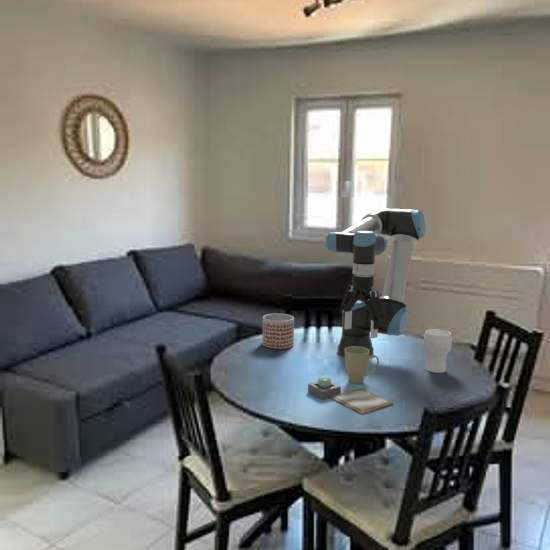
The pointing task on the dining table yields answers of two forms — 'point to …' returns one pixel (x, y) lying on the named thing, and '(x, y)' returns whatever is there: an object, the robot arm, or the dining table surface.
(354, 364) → the mug
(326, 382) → the button
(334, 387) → the button housing
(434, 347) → the cup
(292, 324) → the planter
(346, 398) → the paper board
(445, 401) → the dining table surface
